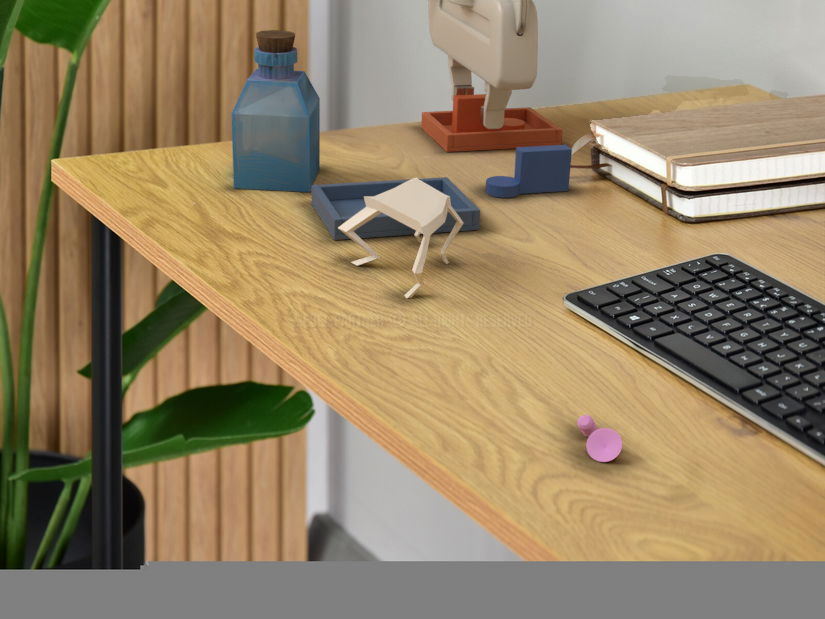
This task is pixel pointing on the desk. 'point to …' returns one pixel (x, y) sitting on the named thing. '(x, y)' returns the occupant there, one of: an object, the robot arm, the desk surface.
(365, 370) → the desk surface
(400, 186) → the origami figure
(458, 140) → the terracotta tray
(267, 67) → the perfume bottle
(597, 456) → the pink game pawn
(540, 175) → the blue block with disc
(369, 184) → the blue tray
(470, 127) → the red brick block
